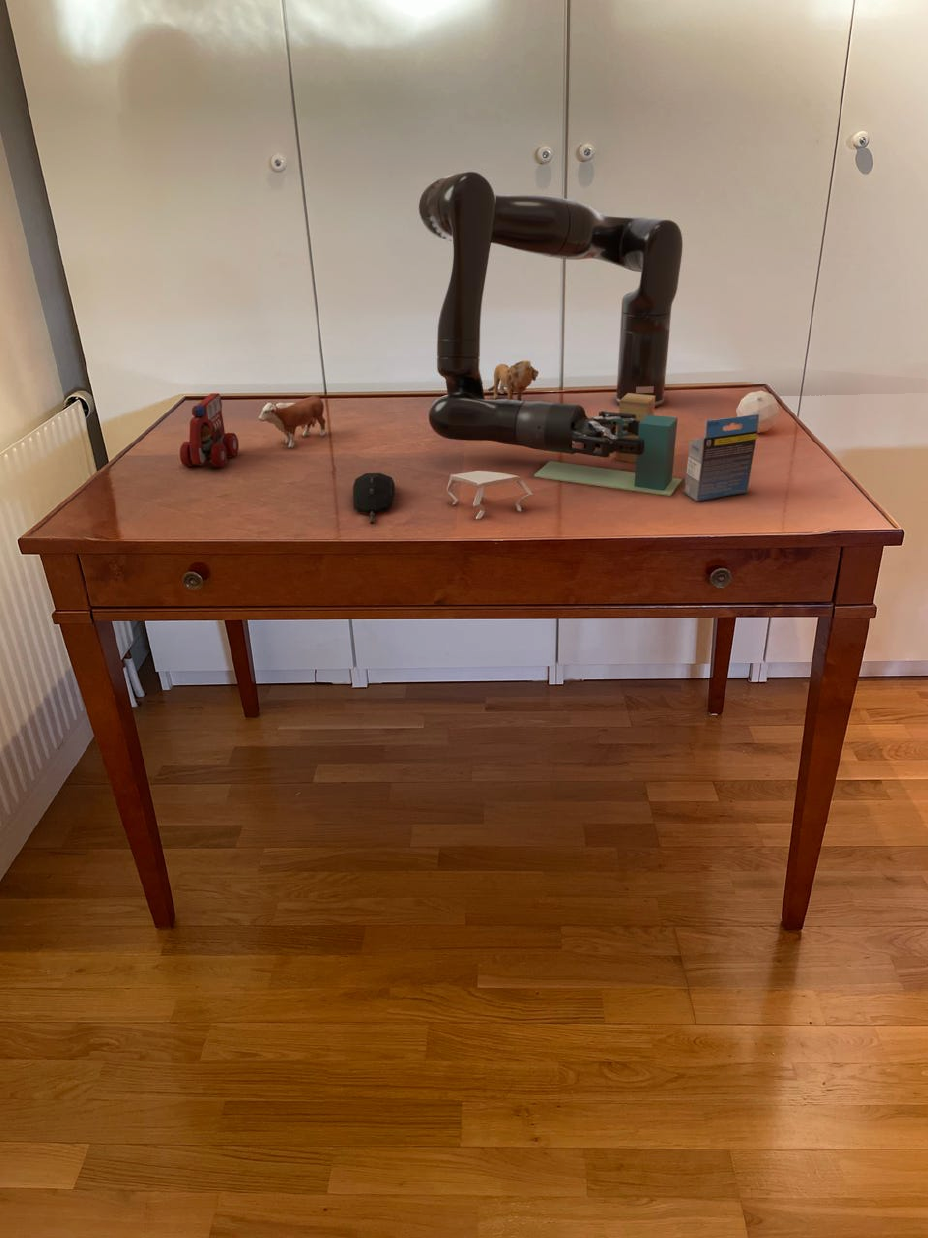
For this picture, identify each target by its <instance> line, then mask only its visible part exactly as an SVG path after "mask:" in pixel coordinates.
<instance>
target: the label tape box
mask: <svg viewBox="0 0 928 1238" xmlns="http://www.w3.org/2000/svg"><path fill="white" fill-rule="evenodd" d="M758 419H759V414H754V415H747V416H739V417H737V416H732V417H730V416H729V417H723V418H714V419H706V420H705V430H704V432H705V433H704V437H702V438H696V439H692V440H690V441H689V447H688V456H687V465H686V473H685V480H684V481H685V482H684V488H683V489H684V490H683V493H684V494H686V495H687V496H688V497H690V499H692V500H693V501H695V502H701V501H709V500H713V499H719V498H725V497H731V496H736V495H741V494H747V493H748V491H749V485H750V478H751V473H752V467H753V462H754V456H755V449H756V442H757V438H758V433H757V428H758ZM732 424H733V425H734V426H740V427H739V428H734V429H725V430H724V427H729V426H731V425H732Z"/></svg>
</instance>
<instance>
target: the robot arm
mask: <svg viewBox="0 0 928 1238" xmlns="http://www.w3.org/2000/svg"><path fill="white" fill-rule="evenodd" d="M419 198H420V199H419V200H418V201H419V202H418V214H419V217H420V221H421V223H422V225H423V226H424V227H425V229H426V230H427V231H428V232H429V233H430V234H431V235H432V236H434V237H435V238H437V239H439V240H441V241H446V242H452V248H453V250H452V251H453V253H452V254H453V256H452V264H451V265H452V266H451V272H450V276H449V277H450V278H449V281H448V284H447V289H446V291H445V294H444V297H443V300H442V303H441V306H440V310H439V314H438V317H437V324H436V325H437V326H436V369H437V373H438V374H439V376H441V377H442V378H444V380H445V384H446V395H443V396H440V397H438V398H437V399H436V400H435V401H434V402H433V403H432V405H431V406H430V409H429V411H428V421H429V422H428V423H429V425H430V428H431V429H432V430H433V431H434V432H435V434H437V435H438V436H440V437H442V438H444V439H448V440H452V441H453V440H454V441H469V442H470V441H471V442H494V443H497V444H498V443H499V444H503V445H504V444H505V445H511V446H520V447H523V448H524V447H525V448H529V449H532V450H537V451H545V452H553V453H560V454H569V455H575V454H579V455H587V456H593V457H599V458H609V457H610V455H616V454H617V452H618V453H626V454H634V455H642V454H643V452H644V445H645V442H644V440H642V439H635V438H626V437H623V436H629V435H636V436H638V431H639V423H640V422H641V421H638V420H637V419H636V415H635V414H625V413H619V412H614V411H599V412H598V415H596V416H594V417H588V416H587V414H586V411H585V409H584V407H583V406H581V405H579V404H570V403H562V402H551V401H544V400H543V401H542V400H535V401H534V400H533V401H529V400H527V401H526V400H522V401H518V400H517V399H513V400H509V399H508V398H499V399H485V391H484V386H483V379H482V375H481V370H480V360H481V358H480V357H481V326H482V325H481V324H482V308H483V298H484V292H485V285H486V279H487V274H488V273H487V272H488V267H489V260H490V255H491V253H490V252H491V246H492V244H493V245H494V244H495V245H499V246H503V247H507V248H510V249H513V250H518V251H521V252H525V253H529V254H530V253H531V254H535V255H539V256H543V257H549V258H555V259H561V260H571V261H572V260H573V261H576V260H578V261H579V260H587V259H588V260H589V259H595V260H599V261H603V262H607V263H610V264H613V265H616V266H618V267H621V268H623V269H627V270H629V271H631V272H637V273H640V278H639V284H638V287H637V288H636V289H635V290H634V291H630V292H628V293H626V294H624V295H623V296H622V299H621V305H620V306H621V307H620V308H621V309H620V310H621V311H620V325H619V326H620V329H619V343H618V344H619V345H618V361H617V377H616V393H615V403H616V404H617V405H619V403H620V400H621V399H622V398H623V397H624V396H625V395H626V394H628V393H633V394H643V395H653V396H655V407H654V408H657V407H660V406H662V405H663V404H664V403H665V390H666V389H665V387H666V379H667V377H666V376H667V365H668V355H669V352H668V351H669V340H670V329H671V317H672V307H673V303H674V300H675V298H676V295H677V292H678V288H679V287H678V286H679V279H680V272H681V264H682V257H683V248H684V247H683V245H684V244H683V243H684V242H683V234H682V231H681V229H680V226H679V225H678V224H677V223H676V222H675V221H673V220H671V219H665V218H656V217H646V216H644V217H643V216H634V217H630V216H616V215H614V216H613V215H606V214H603V213H600V212H598V211H597V210H595V209H594V208H593V207H591V206H589V205H588V204H586V203H582V202H579V201H576V200H573V199H568V198H563V197H559V196H554V195H543V194H542V195H540V194H509V195H505V194H504V195H502V194H495V190H494V188H493V186H492V184H491V182H490V180H488V178H486V177H485V176H484V175H483V174H481V173H479V172H476V171H464V172H460V173H455V174H451V175H447V176H442V177H440V178H439V179H436V180H434V181H433V182H432V183H430V184H429V185H427V186H426V188H425V189H424V190H423V192H422V194H421V195H420V197H419ZM622 418H623V419H622ZM623 424H628V426H624V425H623Z"/></svg>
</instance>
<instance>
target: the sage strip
mask: <svg viewBox="0 0 928 1238" xmlns="http://www.w3.org/2000/svg"><path fill="white" fill-rule="evenodd" d="M533 478H538V479H544V480H545V479H547V480H554V481H559V482H560V481H561V482H568V483H575V484H579V485H580V484H581V485H587V486H588V485H589V486H593V487H594V486H595V487H600V488H601V487H603V488H609V489H614V490H615V489H616V490H621V491H630V492H637V493H643V494H650V495H658V496H664V497H672V495H673V494H674V492H675V491H676V490H677V488H678V487H679V486H680V484H681V483H682V482H683V478H678V477H672V481H671V482H670V483H669V485H668V486H667V487H666V489H665V490H664V491H662V490H655V489H648V488H641V487H635V472H634V471H626V470H620V469H611V468H605V467H598V466H597V467H596V466H588V465H581V464H574V463H567V462H560V461H559V462H558V461H553V460H550V461H548V462H547V463H546V464H545V465H544V466H543V467H541V468H540V469H539V470H538V471H537V472H536V473H534V474H533Z"/></svg>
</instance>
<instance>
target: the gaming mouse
mask: <svg viewBox="0 0 928 1238" xmlns="http://www.w3.org/2000/svg"><path fill="white" fill-rule="evenodd" d="M395 494H396V488H395V481H394V479H393V477H392V476H390V475H387V474H385V473H383V472H365V473H363V474H361V475H360V476H358V477H356V478H355V480H354V482H353V484H352V495H353V497H352V498H353V499H352V500H353V510H355V511H356V512H357V513H359V514H368V515H369V518H370V524H371V525H374V519H375V516H376V515H375V514H381V513H385V512H388V511H389V510H390V509H392V508H393V504H394V500H395Z"/></svg>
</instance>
